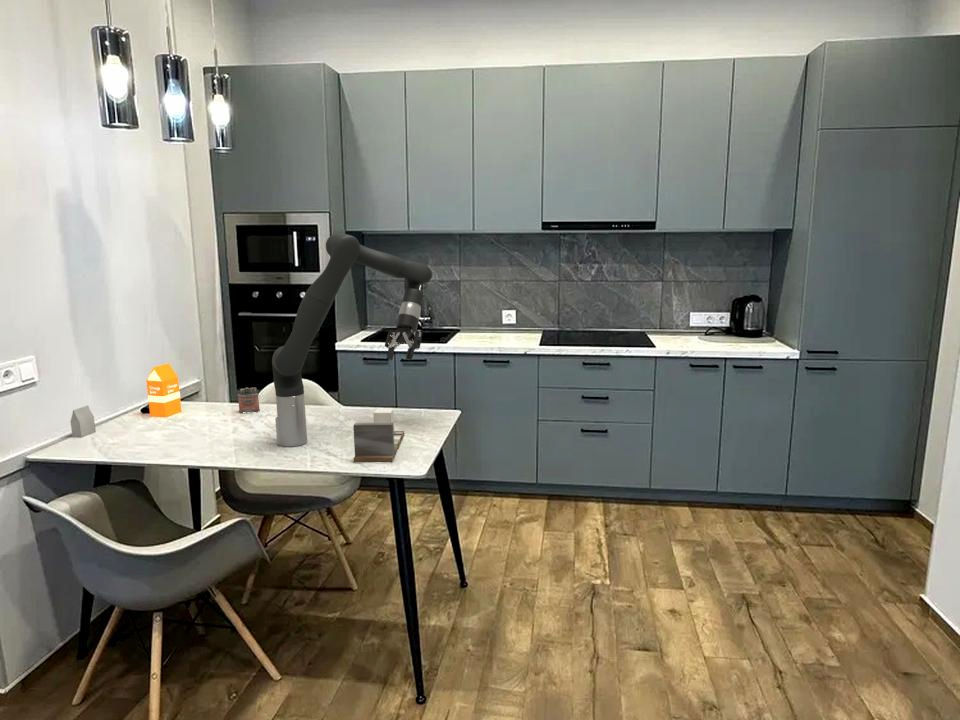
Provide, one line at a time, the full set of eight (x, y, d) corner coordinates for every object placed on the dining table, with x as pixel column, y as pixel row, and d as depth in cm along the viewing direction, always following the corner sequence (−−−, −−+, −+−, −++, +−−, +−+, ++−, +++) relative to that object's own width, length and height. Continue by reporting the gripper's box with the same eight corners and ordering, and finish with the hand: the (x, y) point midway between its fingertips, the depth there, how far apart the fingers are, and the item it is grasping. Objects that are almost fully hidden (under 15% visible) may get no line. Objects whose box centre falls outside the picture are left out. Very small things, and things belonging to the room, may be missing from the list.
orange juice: (149, 416, 259) (144, 367, 255) (166, 410, 268) (161, 362, 264) (166, 417, 257) (160, 367, 253) (182, 411, 265) (177, 363, 261)
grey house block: (95, 432, 239) (92, 405, 237) (81, 437, 233) (77, 410, 231) (87, 431, 240) (83, 405, 238) (72, 437, 233) (68, 410, 231)
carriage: (377, 433, 227) (375, 408, 225) (403, 433, 227) (402, 408, 225) (373, 439, 220) (372, 414, 218) (400, 439, 220) (399, 414, 218)
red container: (238, 413, 261) (236, 389, 259) (239, 411, 264) (237, 387, 262) (259, 412, 263) (257, 388, 261) (260, 410, 266) (258, 386, 264)
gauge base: (370, 435, 231) (369, 403, 229) (404, 435, 230) (403, 403, 228) (353, 462, 203) (351, 427, 201) (392, 462, 203) (390, 426, 201)
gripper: (387, 313, 235) (376, 355, 230) (418, 311, 227) (408, 355, 223) (399, 321, 241) (390, 363, 236) (430, 320, 233) (421, 363, 228)
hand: (398, 359), depth 229 cm, fingers open, 8 cm apart
